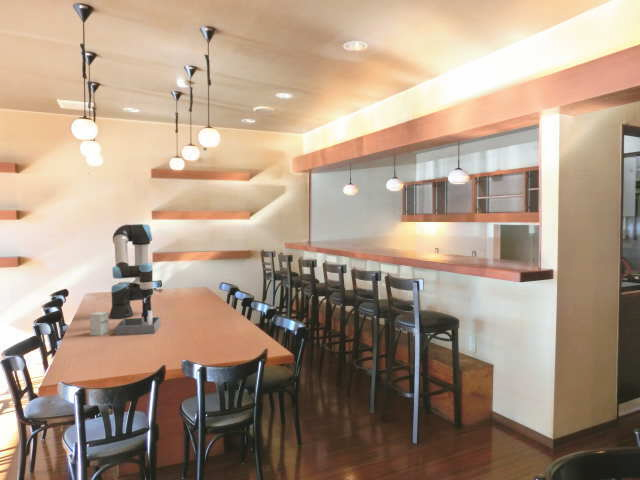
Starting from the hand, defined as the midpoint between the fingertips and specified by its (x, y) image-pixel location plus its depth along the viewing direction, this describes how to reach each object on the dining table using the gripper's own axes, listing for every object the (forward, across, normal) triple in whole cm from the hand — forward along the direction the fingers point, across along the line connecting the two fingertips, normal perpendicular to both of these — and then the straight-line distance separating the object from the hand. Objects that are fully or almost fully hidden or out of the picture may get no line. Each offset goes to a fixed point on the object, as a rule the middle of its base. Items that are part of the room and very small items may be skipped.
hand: (147, 325), depth 272 cm
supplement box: (+3, +5, -26) cm, 27 cm away
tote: (+3, 0, -5) cm, 6 cm away
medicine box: (+1, 0, 0) cm, 1 cm away
